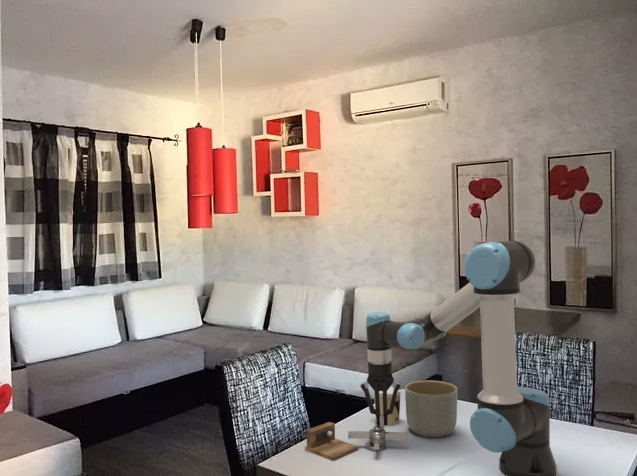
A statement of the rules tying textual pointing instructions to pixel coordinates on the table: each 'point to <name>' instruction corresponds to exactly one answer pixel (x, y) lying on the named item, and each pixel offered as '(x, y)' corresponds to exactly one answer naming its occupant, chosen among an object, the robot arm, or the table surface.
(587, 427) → the table surface
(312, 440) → the stand
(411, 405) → the planter
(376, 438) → the silver cross-shaped piece
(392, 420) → the coffee cup
